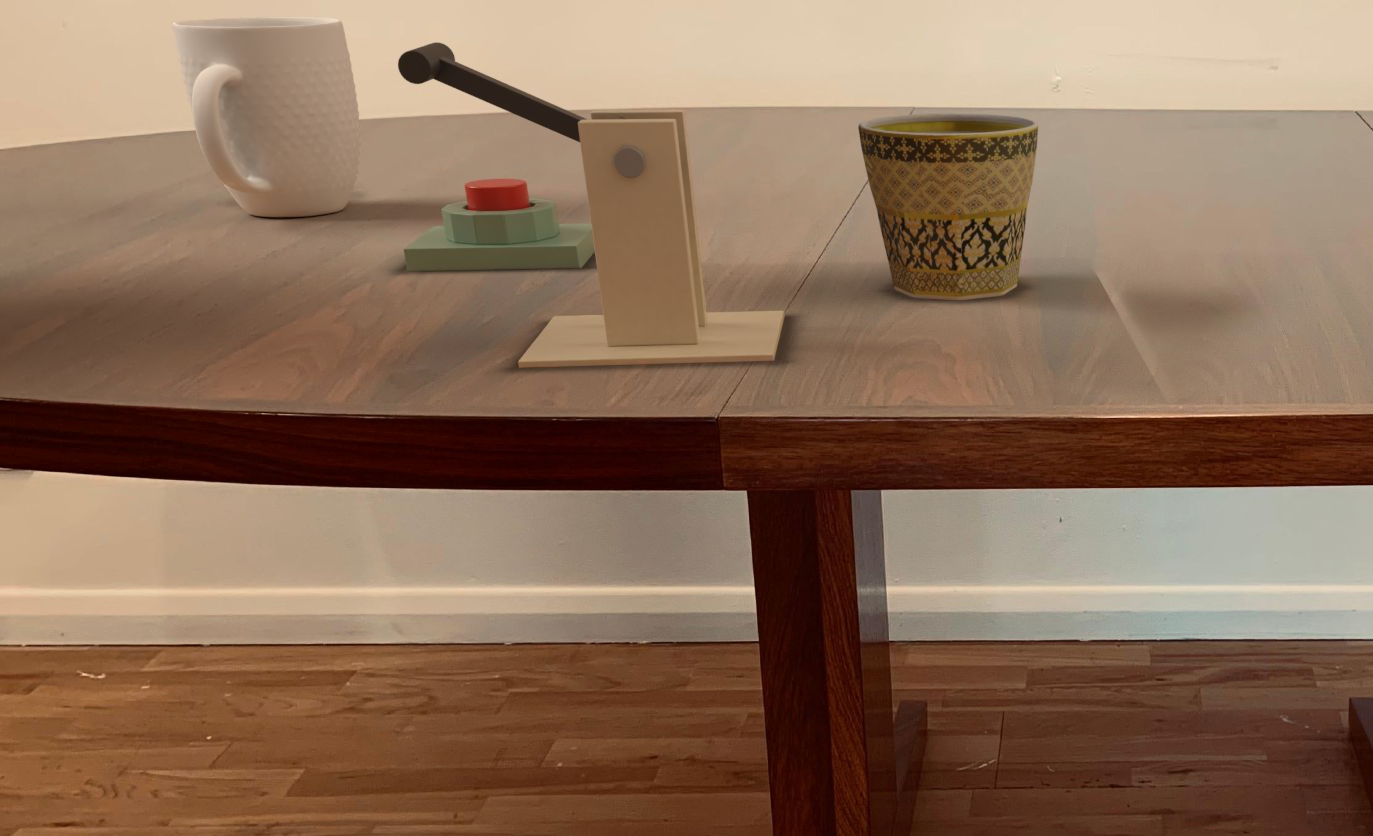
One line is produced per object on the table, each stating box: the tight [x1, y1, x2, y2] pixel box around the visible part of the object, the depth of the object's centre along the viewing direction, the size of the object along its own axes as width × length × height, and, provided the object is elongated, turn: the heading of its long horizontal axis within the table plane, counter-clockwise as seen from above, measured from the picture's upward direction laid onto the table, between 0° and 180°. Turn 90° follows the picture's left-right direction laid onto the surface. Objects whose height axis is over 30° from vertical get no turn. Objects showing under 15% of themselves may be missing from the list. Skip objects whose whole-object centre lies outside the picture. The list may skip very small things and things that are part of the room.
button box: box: [403, 197, 595, 272], centre depth 108 cm, size 10×8×4 cm
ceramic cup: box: [858, 112, 1039, 301], centre depth 100 cm, size 13×10×10 cm
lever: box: [397, 42, 626, 143], centre depth 83 cm, size 12×5×2 cm, turn 98°
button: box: [464, 178, 530, 211], centre depth 107 cm, size 4×4×2 cm
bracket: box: [517, 108, 786, 369], centre depth 86 cm, size 12×10×12 cm
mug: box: [172, 16, 361, 218], centre depth 124 cm, size 15×11×13 cm
